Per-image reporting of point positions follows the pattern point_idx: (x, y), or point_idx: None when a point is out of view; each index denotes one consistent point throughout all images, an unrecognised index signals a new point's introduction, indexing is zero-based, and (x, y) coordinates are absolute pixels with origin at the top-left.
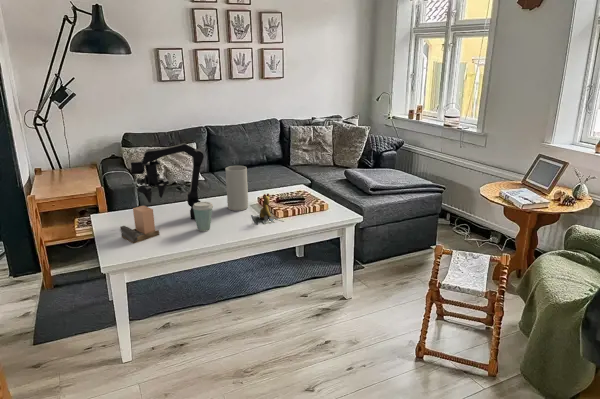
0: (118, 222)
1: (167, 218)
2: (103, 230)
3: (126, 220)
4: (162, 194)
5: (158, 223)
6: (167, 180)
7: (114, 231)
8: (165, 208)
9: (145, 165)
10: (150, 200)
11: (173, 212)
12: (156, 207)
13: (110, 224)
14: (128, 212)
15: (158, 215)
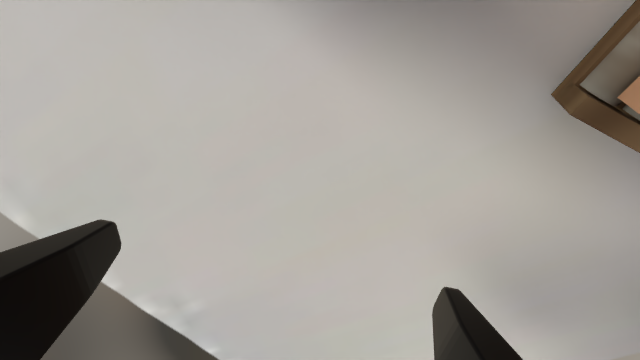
0: (402, 333)
1: (214, 48)
2: (556, 355)
3: (358, 309)
4: (41, 251)
5: (366, 65)
6: None
7: (583, 301)
8: (49, 183)
9: None
10: (487, 327)
11: (66, 76)
12: None
13: None
14: (233, 340)
15: (191, 164)
